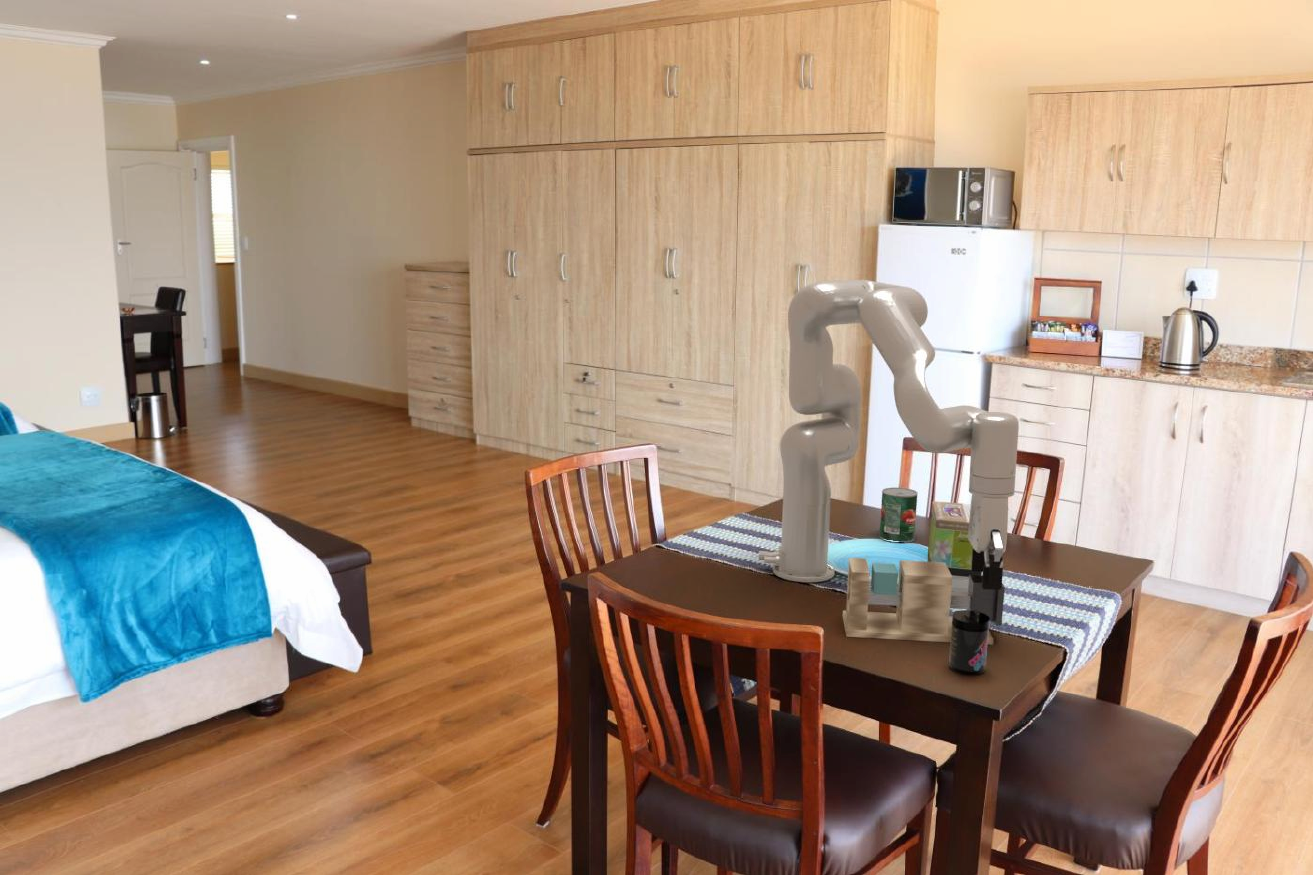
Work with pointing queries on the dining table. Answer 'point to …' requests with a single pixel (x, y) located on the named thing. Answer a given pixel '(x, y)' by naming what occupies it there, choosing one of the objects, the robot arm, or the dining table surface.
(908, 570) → the wooden slotted block
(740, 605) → the dining table surface
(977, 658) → the supplement container
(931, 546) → the tea box
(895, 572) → the spacer
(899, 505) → the canned tomato
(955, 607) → the shaft
